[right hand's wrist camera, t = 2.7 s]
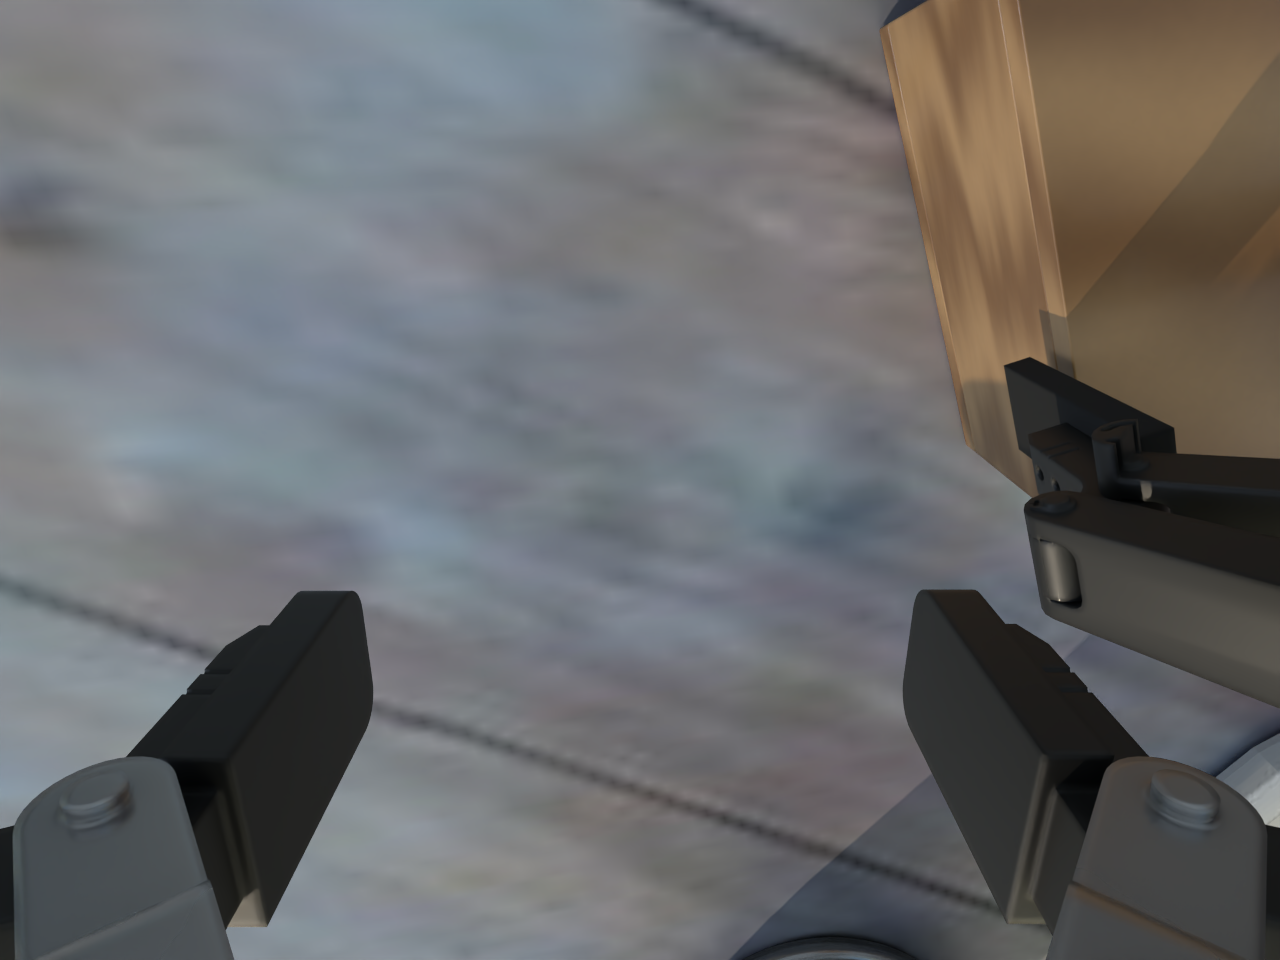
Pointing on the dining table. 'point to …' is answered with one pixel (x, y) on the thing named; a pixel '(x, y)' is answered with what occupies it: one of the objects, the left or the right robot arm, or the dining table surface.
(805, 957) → the left robot arm
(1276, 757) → the wall clock
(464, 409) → the dining table surface
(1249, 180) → the cabinet
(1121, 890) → the right robot arm
